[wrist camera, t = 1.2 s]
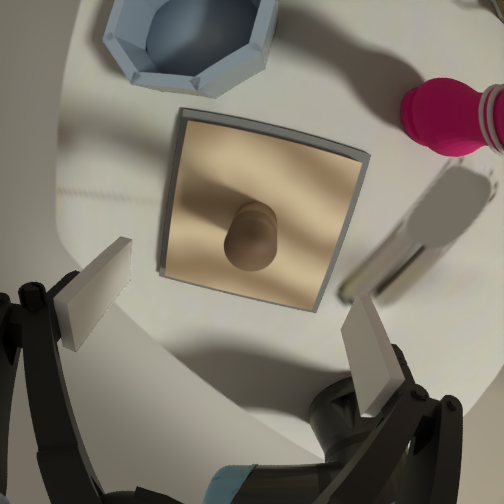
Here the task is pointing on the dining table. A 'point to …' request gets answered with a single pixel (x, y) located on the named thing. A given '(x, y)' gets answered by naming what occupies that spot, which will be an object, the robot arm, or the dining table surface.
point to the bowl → (191, 42)
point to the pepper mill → (455, 117)
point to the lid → (257, 214)
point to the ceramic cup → (499, 8)
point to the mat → (276, 133)
